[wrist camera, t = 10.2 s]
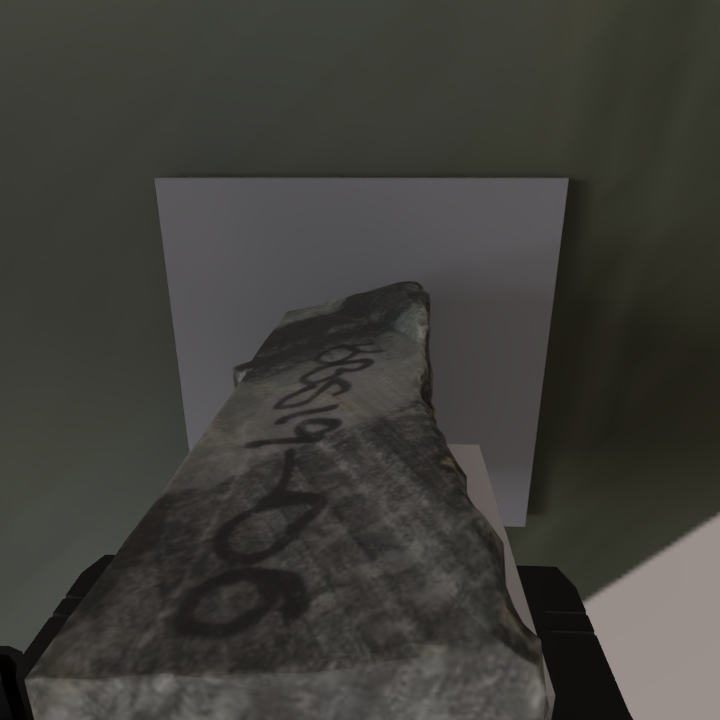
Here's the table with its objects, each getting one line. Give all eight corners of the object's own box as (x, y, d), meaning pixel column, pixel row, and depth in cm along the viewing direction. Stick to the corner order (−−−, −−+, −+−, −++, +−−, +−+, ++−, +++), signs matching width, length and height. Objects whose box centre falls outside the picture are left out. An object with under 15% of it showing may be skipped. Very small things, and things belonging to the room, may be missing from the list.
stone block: (429, 270, 18) (268, 270, 18) (591, 611, 4) (-53, 600, 5) (420, 506, 21) (282, 504, 21) (500, 1135, 7) (116, 1118, 8)
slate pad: (203, 506, 25) (197, 517, 24) (163, 176, 20) (154, 178, 19) (520, 515, 24) (524, 526, 23) (561, 177, 19) (568, 178, 18)
